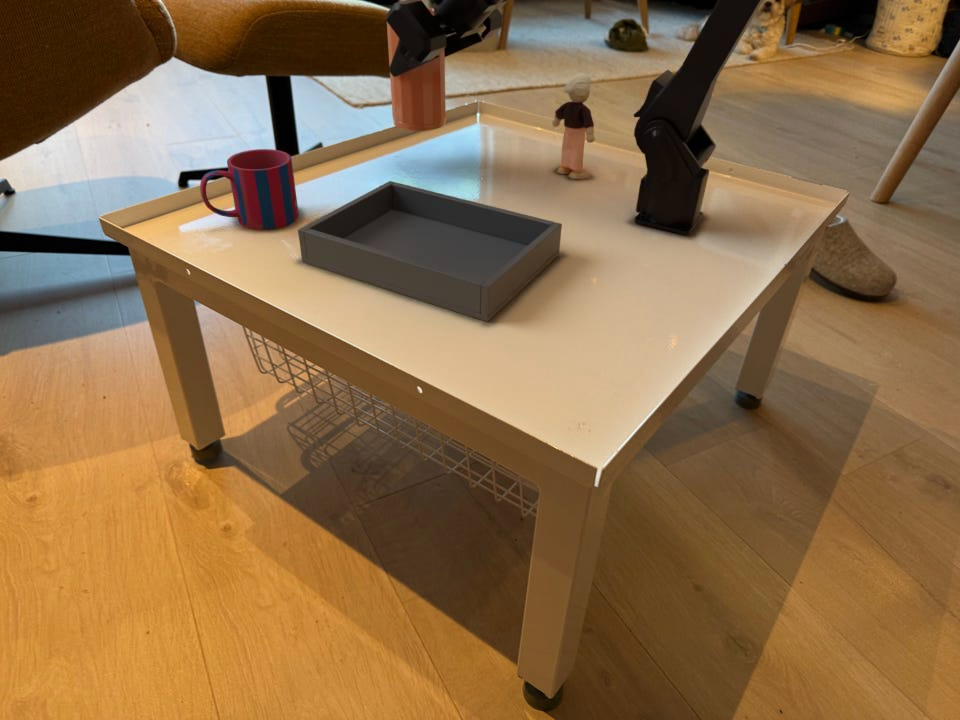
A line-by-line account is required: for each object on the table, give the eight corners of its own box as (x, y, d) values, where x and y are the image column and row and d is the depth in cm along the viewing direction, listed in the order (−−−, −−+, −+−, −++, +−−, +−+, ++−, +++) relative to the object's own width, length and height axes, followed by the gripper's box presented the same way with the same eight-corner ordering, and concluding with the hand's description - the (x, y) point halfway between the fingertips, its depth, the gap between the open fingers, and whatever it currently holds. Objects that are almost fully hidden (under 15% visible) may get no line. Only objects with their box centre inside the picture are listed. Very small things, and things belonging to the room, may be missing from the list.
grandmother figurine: (601, 176, 93) (615, 76, 85) (584, 184, 90) (596, 81, 83) (556, 161, 97) (565, 65, 90) (538, 168, 95) (546, 69, 87)
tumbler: (453, 118, 92) (452, 10, 84) (432, 134, 87) (429, 20, 79) (407, 112, 94) (402, 5, 86) (384, 127, 89) (376, 15, 81)
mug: (305, 224, 78) (298, 165, 74) (213, 240, 74) (200, 178, 70) (290, 202, 83) (282, 145, 79) (202, 216, 79) (189, 157, 75)
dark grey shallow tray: (559, 255, 74) (562, 223, 71) (487, 322, 62) (489, 287, 60) (391, 209, 82) (389, 180, 80) (301, 261, 71) (297, 229, 69)
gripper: (483, -92, 82) (407, 3, 93) (396, -87, 69) (319, 24, 79) (539, -11, 84) (459, 73, 94) (465, 10, 70) (381, 105, 81)
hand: (407, 67), depth 87 cm, fingers closed on tumbler, 7 cm apart
